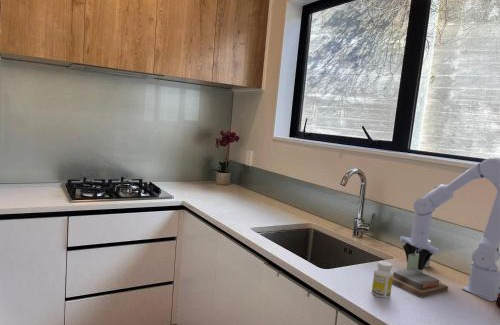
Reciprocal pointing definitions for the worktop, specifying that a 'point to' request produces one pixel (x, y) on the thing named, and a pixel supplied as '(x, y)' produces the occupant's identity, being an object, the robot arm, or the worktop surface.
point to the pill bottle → (422, 250)
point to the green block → (413, 262)
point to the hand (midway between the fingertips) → (415, 267)
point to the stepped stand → (418, 282)
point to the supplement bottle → (382, 280)
